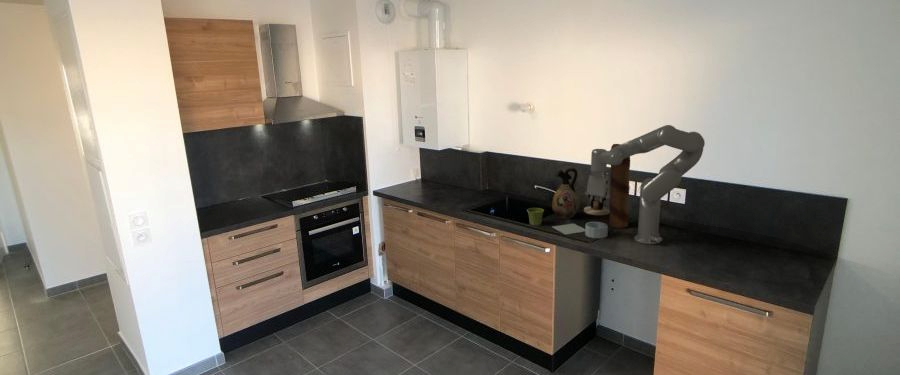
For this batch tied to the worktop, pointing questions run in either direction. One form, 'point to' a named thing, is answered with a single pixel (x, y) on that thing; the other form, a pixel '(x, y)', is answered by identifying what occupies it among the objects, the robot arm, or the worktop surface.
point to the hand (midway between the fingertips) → (596, 208)
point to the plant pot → (535, 215)
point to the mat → (569, 228)
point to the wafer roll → (619, 193)
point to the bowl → (596, 230)
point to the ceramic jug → (566, 196)
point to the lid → (596, 209)
